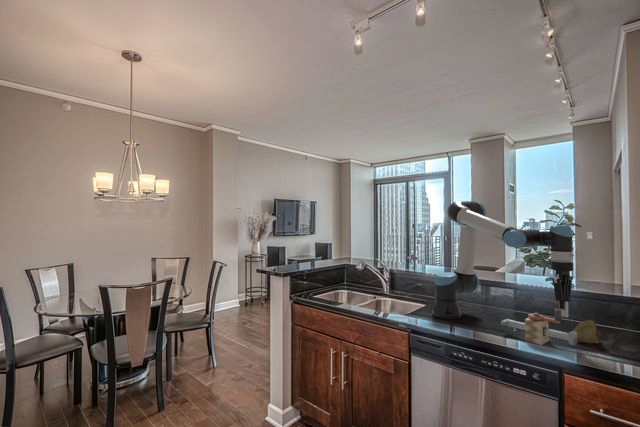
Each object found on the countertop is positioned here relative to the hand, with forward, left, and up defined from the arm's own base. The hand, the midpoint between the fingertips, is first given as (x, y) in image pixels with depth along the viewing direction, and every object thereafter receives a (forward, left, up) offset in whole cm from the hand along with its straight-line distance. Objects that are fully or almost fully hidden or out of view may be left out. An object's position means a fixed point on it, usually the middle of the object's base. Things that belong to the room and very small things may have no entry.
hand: (563, 316), depth 133 cm
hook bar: (-8, -5, -9) cm, 13 cm away
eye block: (-8, -5, -12) cm, 15 cm away
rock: (+4, +11, -12) cm, 16 cm away
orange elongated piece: (-5, -5, -2) cm, 8 cm away
